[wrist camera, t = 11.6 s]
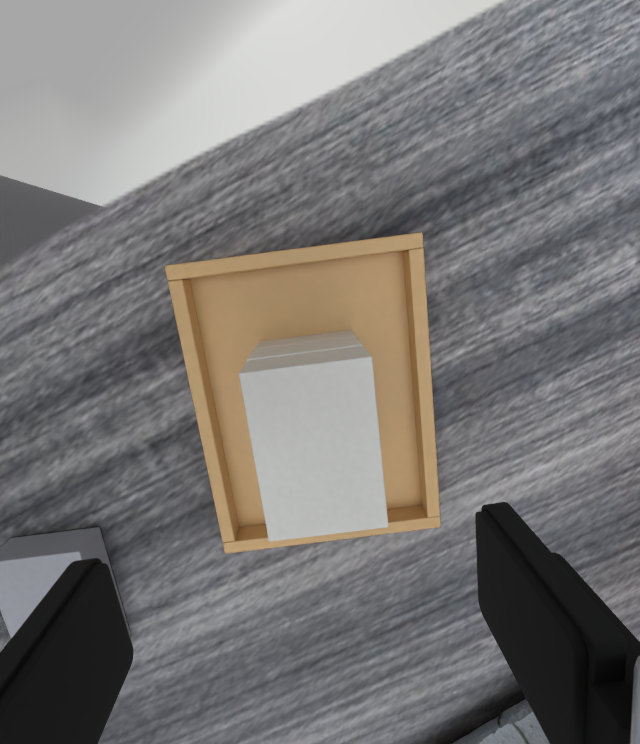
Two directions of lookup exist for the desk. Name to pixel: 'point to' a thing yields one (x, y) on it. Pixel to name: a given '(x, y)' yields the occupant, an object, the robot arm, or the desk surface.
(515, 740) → the model building
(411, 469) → the tray
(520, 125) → the desk surface
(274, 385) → the white book
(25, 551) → the grey rectangular slab
